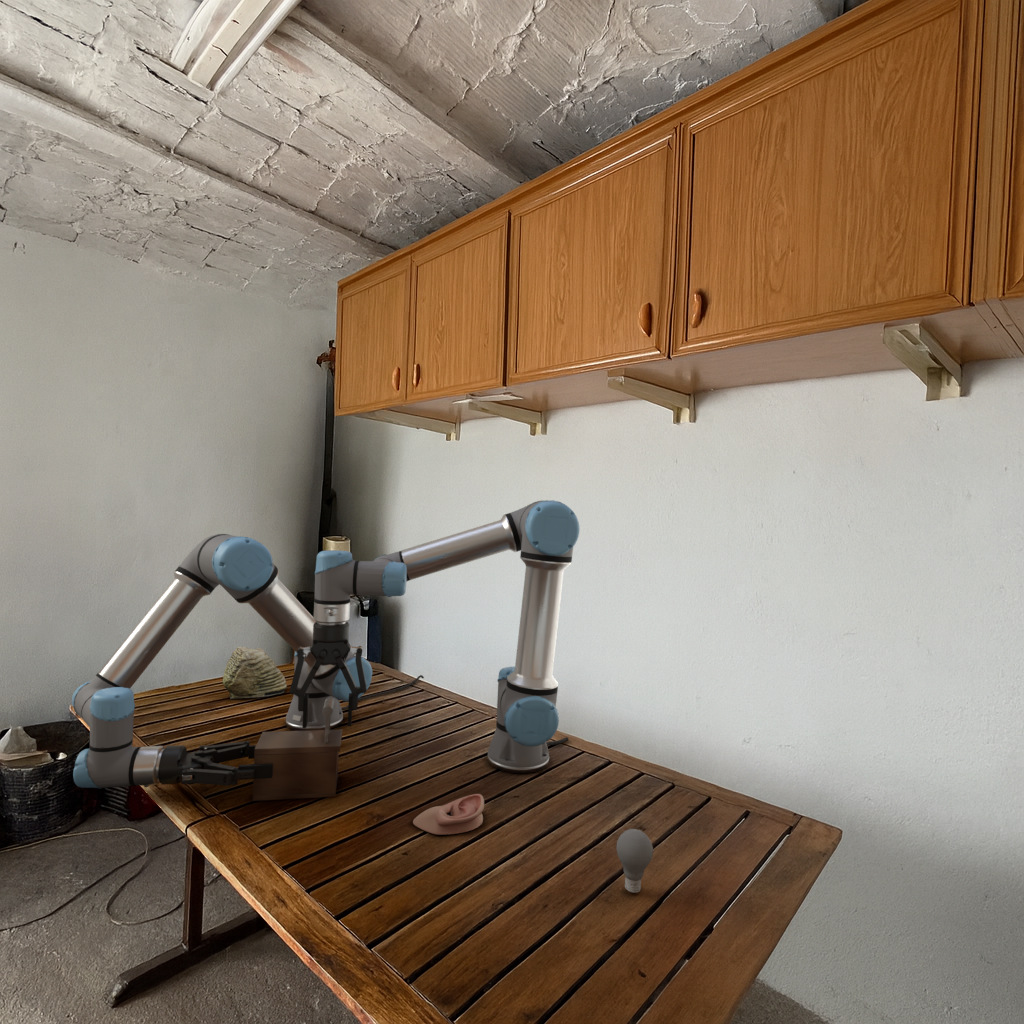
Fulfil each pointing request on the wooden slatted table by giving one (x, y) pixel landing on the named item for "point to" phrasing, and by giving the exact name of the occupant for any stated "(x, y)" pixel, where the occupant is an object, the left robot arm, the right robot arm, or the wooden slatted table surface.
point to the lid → (302, 738)
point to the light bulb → (634, 857)
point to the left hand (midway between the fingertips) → (276, 760)
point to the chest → (297, 776)
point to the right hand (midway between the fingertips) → (327, 724)
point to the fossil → (252, 674)
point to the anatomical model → (452, 816)
